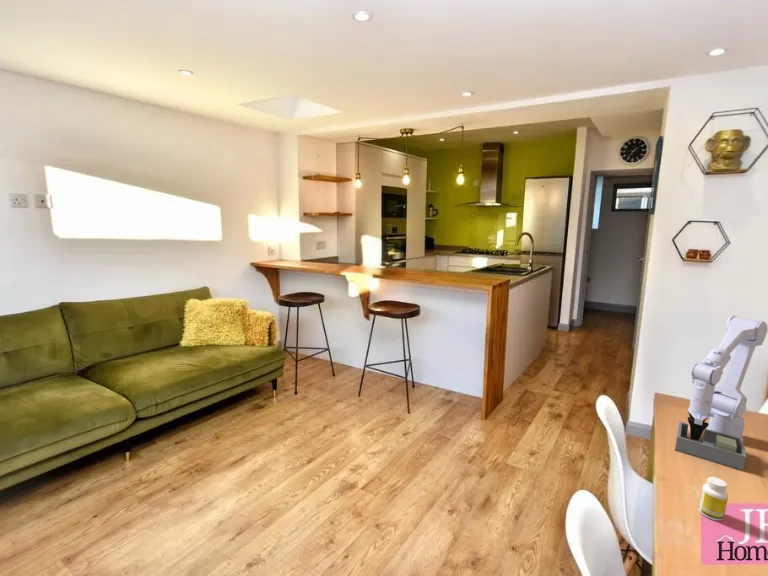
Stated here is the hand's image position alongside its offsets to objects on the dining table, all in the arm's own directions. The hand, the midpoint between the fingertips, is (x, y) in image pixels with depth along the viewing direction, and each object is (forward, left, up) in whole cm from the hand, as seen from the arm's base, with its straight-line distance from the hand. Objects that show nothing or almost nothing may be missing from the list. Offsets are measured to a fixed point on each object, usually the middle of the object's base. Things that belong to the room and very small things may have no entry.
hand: (694, 435), depth 141 cm
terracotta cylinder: (0, 0, -2) cm, 2 cm away
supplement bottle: (+19, +32, -4) cm, 38 cm away
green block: (-7, +5, -4) cm, 9 cm away
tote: (-3, +2, -4) cm, 6 cm away
